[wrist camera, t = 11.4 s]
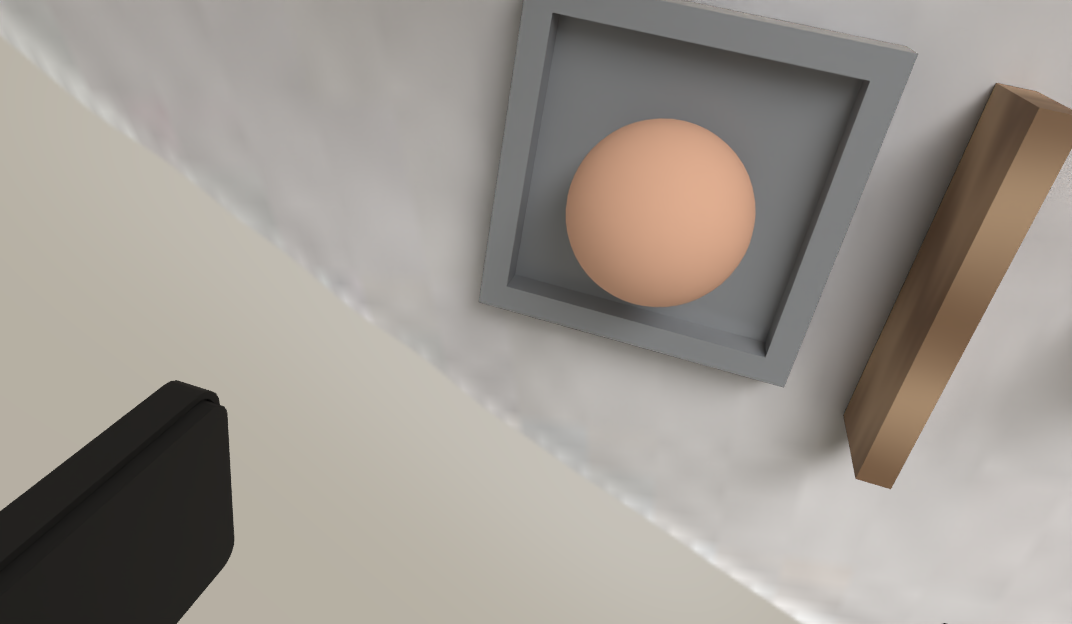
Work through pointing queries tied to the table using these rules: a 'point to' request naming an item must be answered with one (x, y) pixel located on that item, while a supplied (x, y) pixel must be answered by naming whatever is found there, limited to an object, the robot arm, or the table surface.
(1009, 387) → the table surface
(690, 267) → the ball
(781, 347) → the slate dish
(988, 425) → the table surface
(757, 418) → the table surface
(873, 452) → the walnut wall
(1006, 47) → the table surface
